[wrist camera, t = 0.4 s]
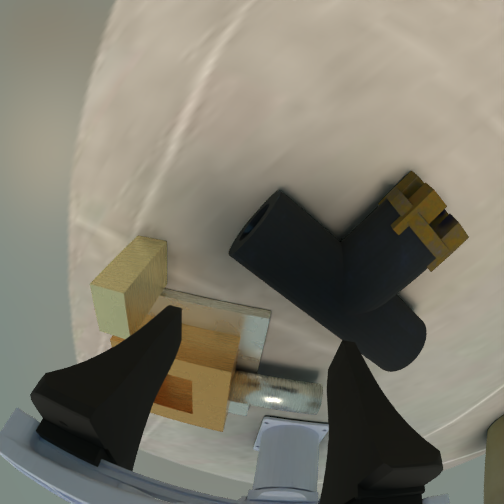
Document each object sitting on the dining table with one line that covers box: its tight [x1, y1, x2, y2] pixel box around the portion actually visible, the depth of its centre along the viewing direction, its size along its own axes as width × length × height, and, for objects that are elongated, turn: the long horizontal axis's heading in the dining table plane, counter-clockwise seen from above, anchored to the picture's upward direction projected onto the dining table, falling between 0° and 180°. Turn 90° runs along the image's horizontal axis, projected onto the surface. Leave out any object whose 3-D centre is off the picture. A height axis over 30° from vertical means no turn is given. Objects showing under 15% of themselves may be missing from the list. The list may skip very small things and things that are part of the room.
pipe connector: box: [229, 171, 469, 372], centre depth 19 cm, size 12×5×15 cm
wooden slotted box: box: [110, 289, 323, 432], centre depth 26 cm, size 15×20×5 cm
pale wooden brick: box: [90, 236, 167, 339], centre depth 21 cm, size 4×2×7 cm, turn 173°
